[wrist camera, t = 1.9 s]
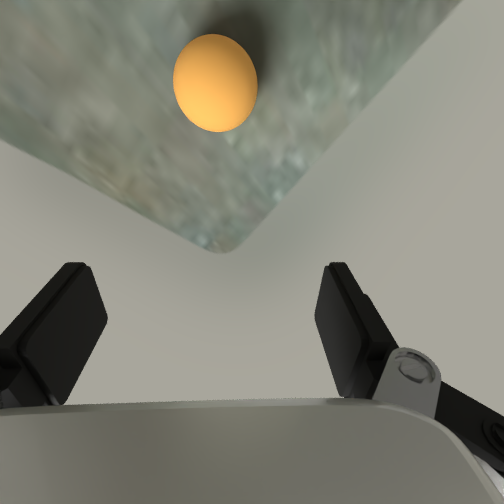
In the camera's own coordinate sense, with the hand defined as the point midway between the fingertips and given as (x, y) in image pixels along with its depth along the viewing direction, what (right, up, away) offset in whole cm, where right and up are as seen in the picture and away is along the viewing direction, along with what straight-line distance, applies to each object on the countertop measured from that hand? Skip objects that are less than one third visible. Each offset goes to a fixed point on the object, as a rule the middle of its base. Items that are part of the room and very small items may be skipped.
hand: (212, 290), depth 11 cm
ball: (-1, +14, +9) cm, 16 cm away
